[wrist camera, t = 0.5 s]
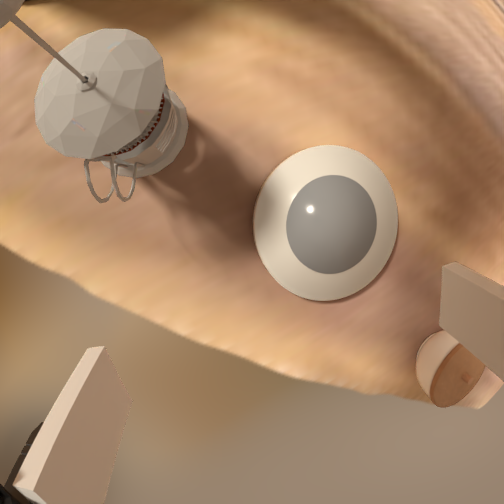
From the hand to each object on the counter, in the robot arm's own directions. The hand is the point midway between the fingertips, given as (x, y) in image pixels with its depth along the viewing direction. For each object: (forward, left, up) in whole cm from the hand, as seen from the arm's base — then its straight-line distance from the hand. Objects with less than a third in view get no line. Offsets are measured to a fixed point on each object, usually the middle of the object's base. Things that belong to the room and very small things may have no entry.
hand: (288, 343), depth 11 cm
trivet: (-6, +9, -21) cm, 23 cm away
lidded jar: (+3, +34, -21) cm, 40 cm away
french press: (-6, -12, -21) cm, 25 cm away
